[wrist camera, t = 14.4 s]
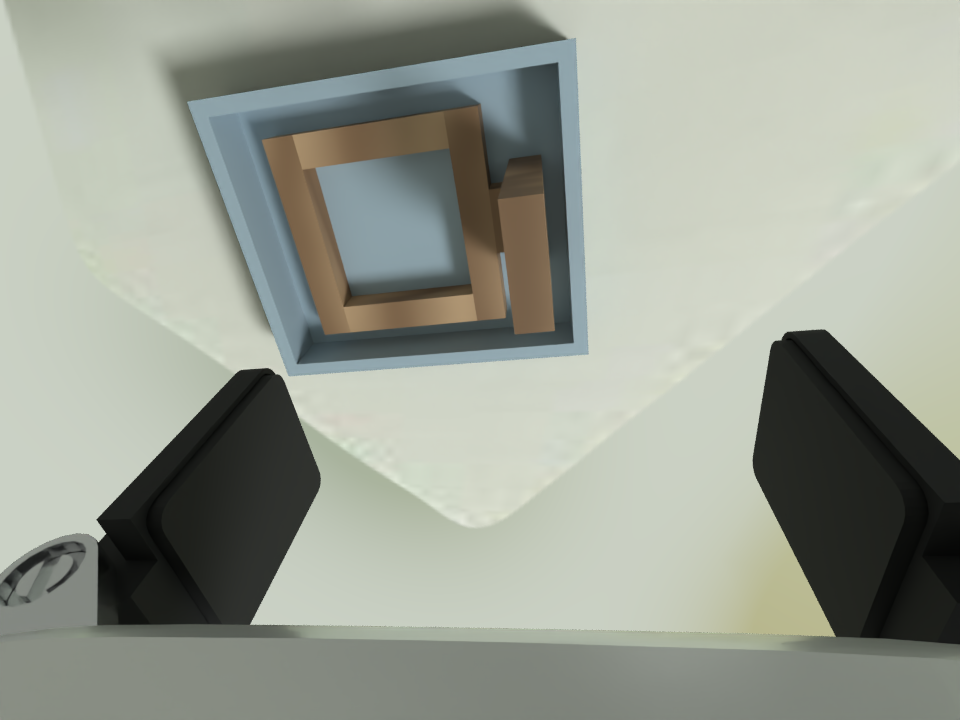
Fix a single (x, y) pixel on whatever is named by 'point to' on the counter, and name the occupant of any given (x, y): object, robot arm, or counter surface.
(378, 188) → the tray
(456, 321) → the ring
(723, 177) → the counter surface
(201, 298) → the counter surface
